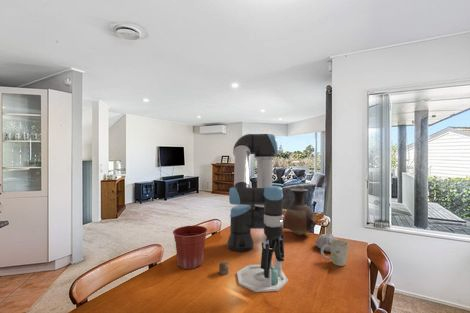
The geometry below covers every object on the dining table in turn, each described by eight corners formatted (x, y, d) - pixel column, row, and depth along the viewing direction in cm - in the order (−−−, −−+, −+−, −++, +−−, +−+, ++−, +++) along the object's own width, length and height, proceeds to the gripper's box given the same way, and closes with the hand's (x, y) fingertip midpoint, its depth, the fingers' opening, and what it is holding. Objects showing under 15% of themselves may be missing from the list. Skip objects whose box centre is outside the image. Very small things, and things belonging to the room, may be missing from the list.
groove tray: (228, 281, 97) (228, 277, 97) (255, 264, 113) (255, 260, 113) (269, 300, 85) (269, 295, 85) (294, 278, 100) (294, 274, 100)
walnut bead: (217, 275, 102) (217, 264, 102) (223, 271, 105) (223, 260, 105) (224, 278, 100) (224, 266, 100) (230, 274, 103) (230, 263, 103)
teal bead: (265, 282, 95) (266, 270, 95) (271, 278, 98) (271, 266, 98) (274, 286, 92) (274, 273, 92) (279, 282, 95) (279, 269, 95)
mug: (350, 268, 109) (350, 246, 109) (322, 265, 112) (322, 244, 112) (345, 260, 117) (345, 240, 117) (319, 257, 120) (319, 238, 120)
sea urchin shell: (337, 244, 138) (337, 231, 138) (344, 254, 124) (344, 239, 124) (313, 243, 140) (313, 230, 140) (317, 252, 126) (318, 238, 126)
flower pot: (166, 263, 113) (166, 230, 113) (193, 253, 125) (193, 223, 125) (186, 275, 102) (186, 239, 102) (214, 263, 114) (214, 230, 114)
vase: (322, 240, 145) (322, 191, 144) (292, 242, 142) (292, 192, 141) (304, 228, 167) (305, 186, 167) (279, 230, 164) (279, 187, 164)
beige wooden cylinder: (262, 272, 103) (262, 261, 103) (266, 269, 106) (266, 258, 106) (269, 275, 100) (269, 264, 100) (274, 272, 103) (274, 260, 103)
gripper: (268, 233, 85) (267, 295, 85) (292, 220, 101) (292, 273, 101) (251, 228, 89) (250, 288, 89) (277, 217, 105) (277, 268, 105)
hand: (273, 280), depth 95 cm, fingers open, 8 cm apart
